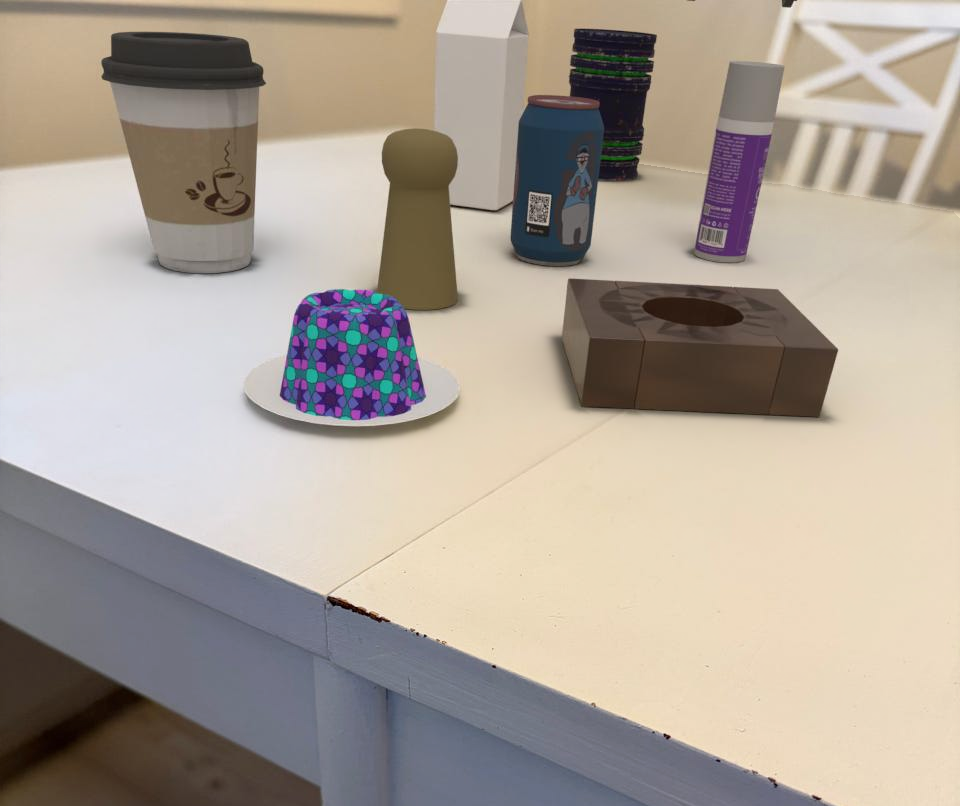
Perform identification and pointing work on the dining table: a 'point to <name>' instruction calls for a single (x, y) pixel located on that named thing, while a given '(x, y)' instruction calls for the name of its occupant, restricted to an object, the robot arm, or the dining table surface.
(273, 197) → the dining table surface
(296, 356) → the pudding
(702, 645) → the dining table surface
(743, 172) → the container
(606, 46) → the black striped cylinder
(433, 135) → the cork
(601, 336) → the socket board
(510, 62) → the milk carton
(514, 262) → the dining table surface
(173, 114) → the coffee cup
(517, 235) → the soda can
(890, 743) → the dining table surface
